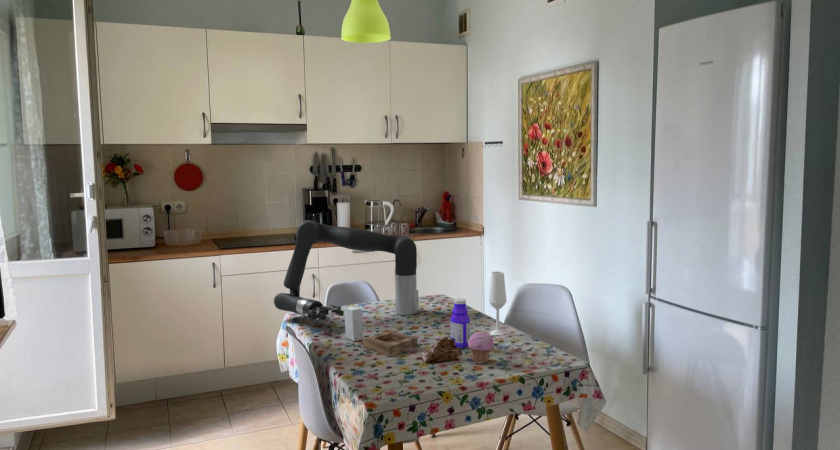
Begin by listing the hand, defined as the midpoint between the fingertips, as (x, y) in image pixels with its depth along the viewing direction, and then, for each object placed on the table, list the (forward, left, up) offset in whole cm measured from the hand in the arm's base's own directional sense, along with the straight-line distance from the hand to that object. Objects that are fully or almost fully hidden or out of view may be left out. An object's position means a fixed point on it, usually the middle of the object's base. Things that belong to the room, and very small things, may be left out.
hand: (334, 315), depth 250 cm
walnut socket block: (-2, +29, -7) cm, 30 cm away
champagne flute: (-41, +48, -7) cm, 64 cm away
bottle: (-20, +47, -7) cm, 52 cm away
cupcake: (-12, +63, -7) cm, 65 cm away
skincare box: (0, +11, -7) cm, 13 cm away
